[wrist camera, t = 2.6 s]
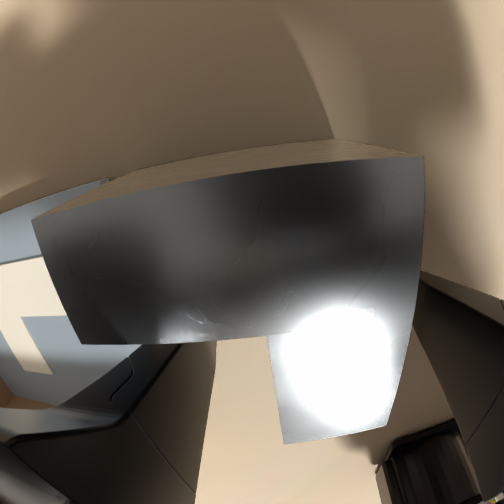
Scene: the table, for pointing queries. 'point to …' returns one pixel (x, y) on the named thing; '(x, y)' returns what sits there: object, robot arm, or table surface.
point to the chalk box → (491, 501)
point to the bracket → (257, 268)
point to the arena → (41, 320)
